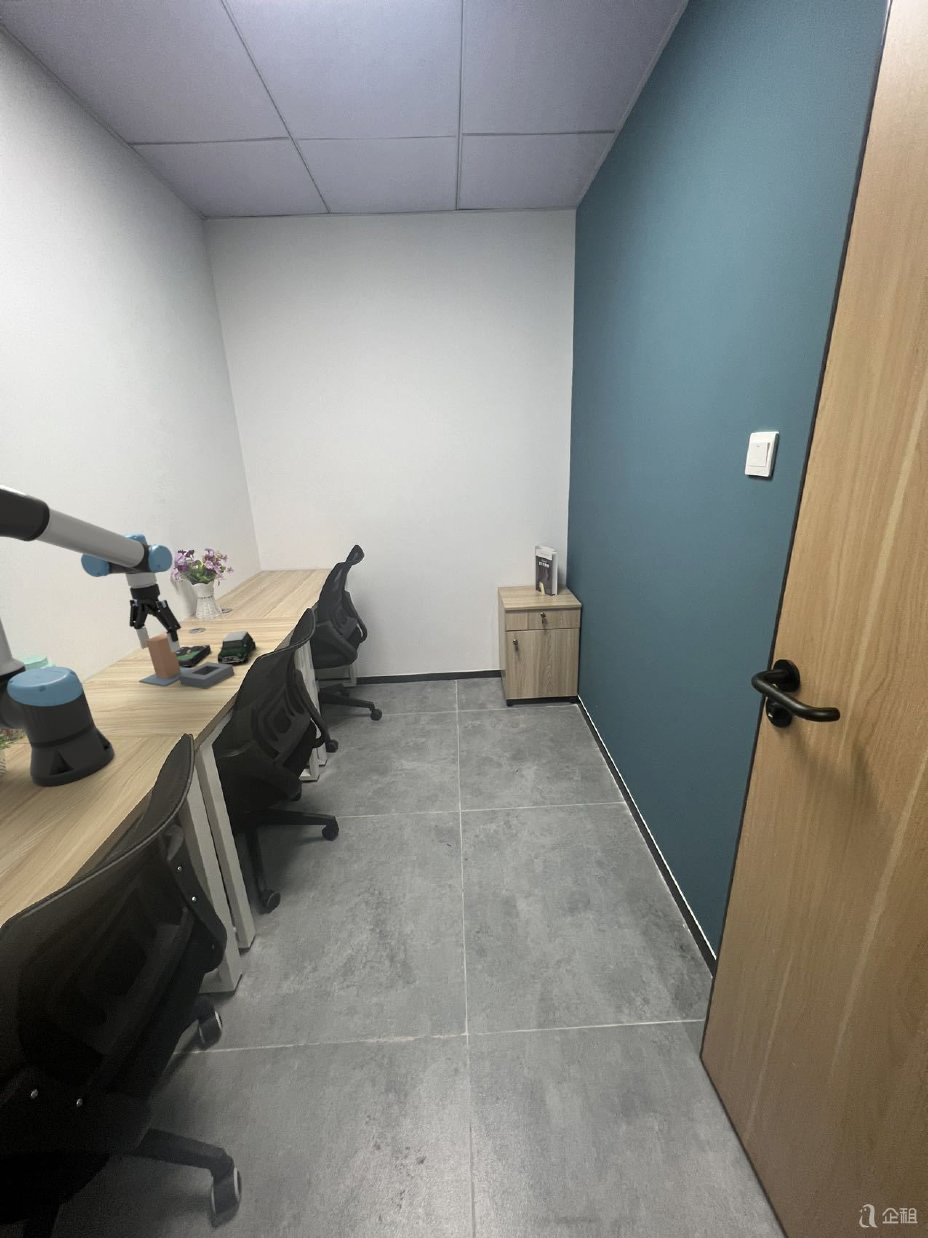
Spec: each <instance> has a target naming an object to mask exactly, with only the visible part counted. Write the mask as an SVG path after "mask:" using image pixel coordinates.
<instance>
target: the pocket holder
mask: <svg viewBox="0 0 928 1238" xmlns="http://www.w3.org/2000/svg"><path fill="white" fill-rule="evenodd" d="M234 674H235V671H234V666H233V664H229V663H228V664H227V663H224V664H220V663H218V662H212V661H206V662H204V663H201V664H200V665H197V666H196V667H193V668H191V670H189V671H187V672H185V673H183V674H181V675H179V676H178V677H179V680H178V681H179V683H180V686H181V685H182V686H187V687H188V686H189V687H195V688H201V689H209V688H210V687H212V686H214V685H216V684H217V683H219V682H221V681H223V680H225V679H227V678H228V677H230V676H232V675H234Z"/></svg>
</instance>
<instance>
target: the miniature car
mask: <svg viewBox="0 0 928 1238" xmlns="http://www.w3.org/2000/svg"><path fill="white" fill-rule="evenodd" d="M256 648H257V645H256V642H255V640H254V638H253V637H252V636H251V634H250V633H249V632H248V631H247V630H242V631H234V632H230V633H228V634H227V635H226V636H225V637H224V639H222V646H221V647H219V649H220V651H219V652H218V654H217V663H220V664H227V663H228V664H229V663H235V662H236V663H239V662H242V664H246V663H248V657H249V655H250V654H251V652H252V651H254V650H256Z"/></svg>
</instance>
